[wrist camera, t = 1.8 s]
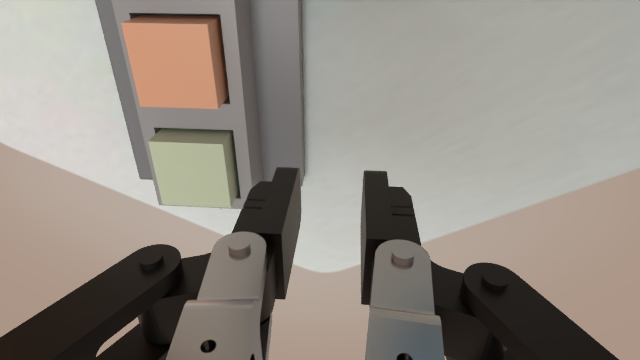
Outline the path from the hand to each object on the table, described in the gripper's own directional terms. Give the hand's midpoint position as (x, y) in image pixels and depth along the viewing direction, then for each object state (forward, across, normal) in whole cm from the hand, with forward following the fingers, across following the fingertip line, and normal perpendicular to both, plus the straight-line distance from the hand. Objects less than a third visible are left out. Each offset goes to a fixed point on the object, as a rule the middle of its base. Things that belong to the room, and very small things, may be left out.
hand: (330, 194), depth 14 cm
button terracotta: (+17, +11, 0) cm, 20 cm away
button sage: (+17, +11, +8) cm, 22 cm away
